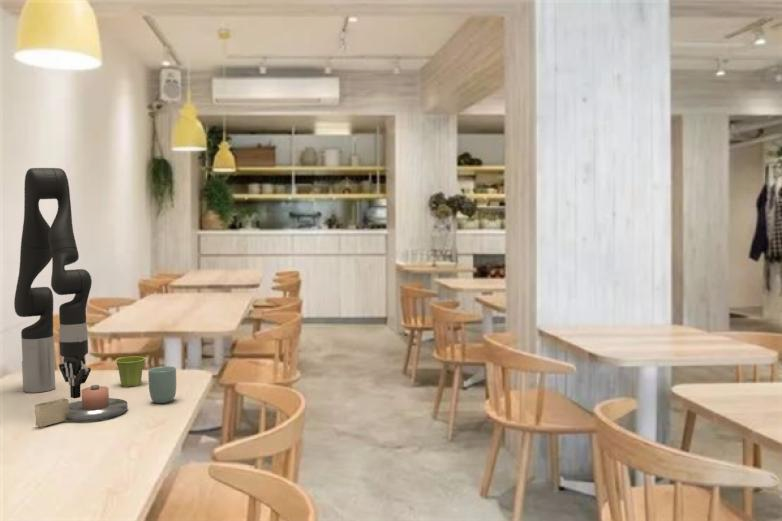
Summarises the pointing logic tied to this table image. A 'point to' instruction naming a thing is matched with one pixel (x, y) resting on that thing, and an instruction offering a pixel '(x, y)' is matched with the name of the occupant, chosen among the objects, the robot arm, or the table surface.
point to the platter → (75, 411)
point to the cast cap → (95, 397)
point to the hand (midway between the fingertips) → (75, 397)
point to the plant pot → (130, 370)
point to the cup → (162, 384)
